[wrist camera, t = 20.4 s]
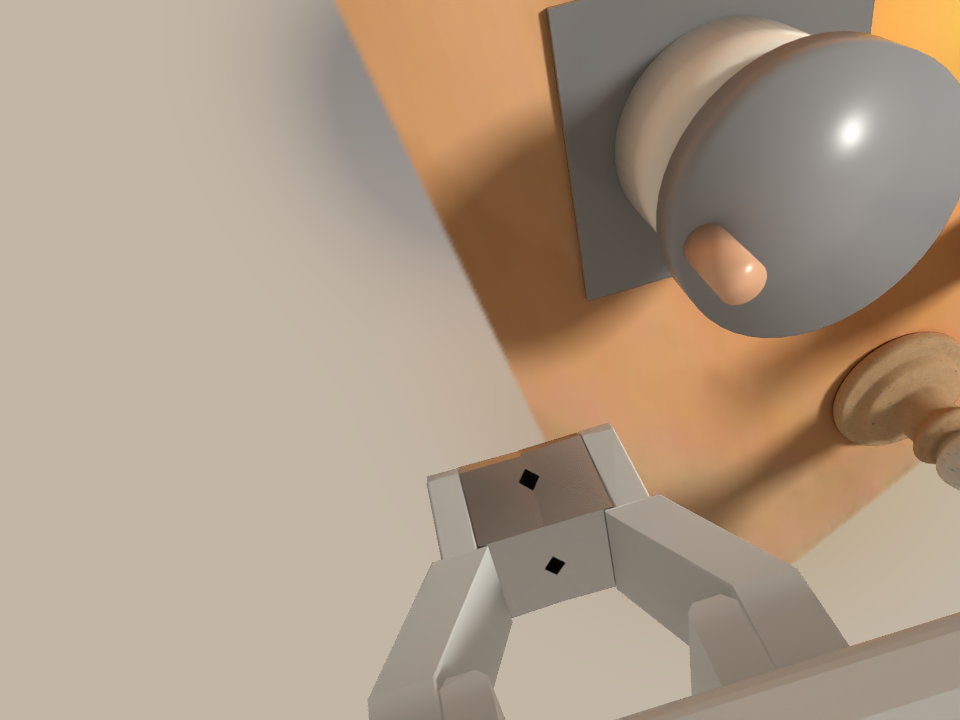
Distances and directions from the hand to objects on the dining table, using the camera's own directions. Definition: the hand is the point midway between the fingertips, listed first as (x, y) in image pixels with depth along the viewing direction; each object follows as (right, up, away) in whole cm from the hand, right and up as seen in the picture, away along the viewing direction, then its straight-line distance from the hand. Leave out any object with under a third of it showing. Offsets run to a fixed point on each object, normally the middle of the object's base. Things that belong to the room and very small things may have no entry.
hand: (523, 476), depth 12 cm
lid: (+17, +11, +28) cm, 35 cm away
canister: (+15, +17, +36) cm, 42 cm away
